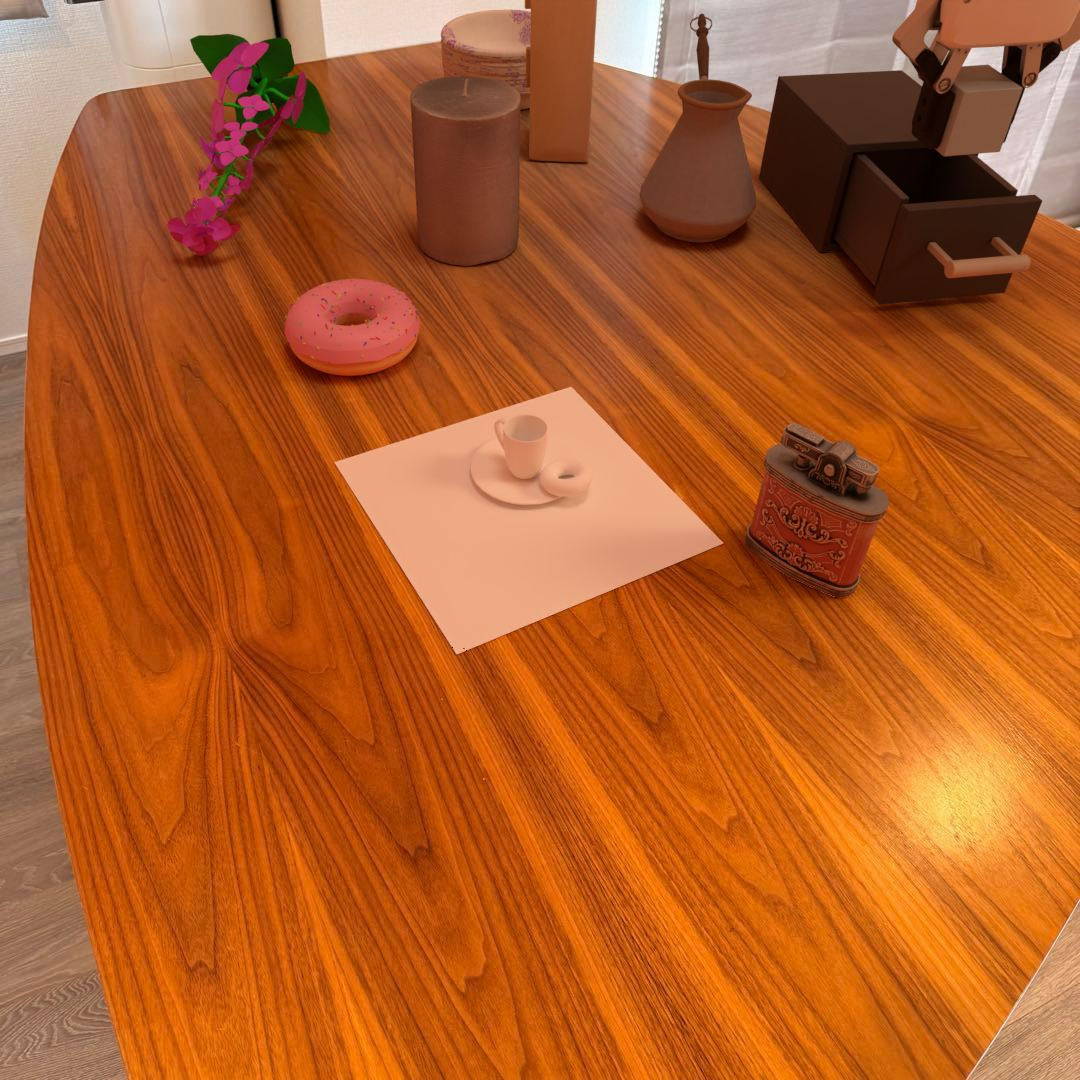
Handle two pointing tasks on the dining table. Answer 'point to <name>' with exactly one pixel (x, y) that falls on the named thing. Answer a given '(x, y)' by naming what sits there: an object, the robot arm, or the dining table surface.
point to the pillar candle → (466, 168)
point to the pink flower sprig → (244, 123)
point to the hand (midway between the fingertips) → (957, 136)
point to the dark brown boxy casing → (831, 139)
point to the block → (979, 111)
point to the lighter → (816, 511)
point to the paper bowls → (489, 47)
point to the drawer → (932, 225)
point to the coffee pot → (702, 161)
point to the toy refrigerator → (560, 78)
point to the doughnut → (352, 327)
